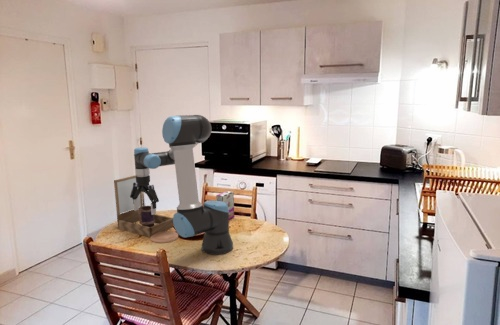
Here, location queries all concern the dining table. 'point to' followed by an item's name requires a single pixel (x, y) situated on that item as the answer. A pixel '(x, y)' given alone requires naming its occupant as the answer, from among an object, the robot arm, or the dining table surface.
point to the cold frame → (132, 217)
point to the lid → (125, 194)
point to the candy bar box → (227, 201)
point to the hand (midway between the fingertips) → (145, 212)
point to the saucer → (164, 237)
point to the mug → (146, 216)
